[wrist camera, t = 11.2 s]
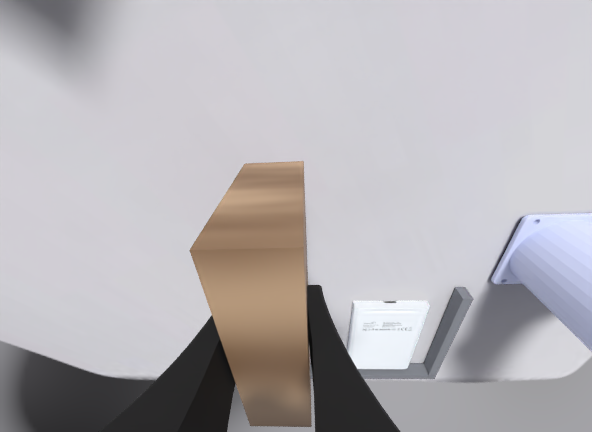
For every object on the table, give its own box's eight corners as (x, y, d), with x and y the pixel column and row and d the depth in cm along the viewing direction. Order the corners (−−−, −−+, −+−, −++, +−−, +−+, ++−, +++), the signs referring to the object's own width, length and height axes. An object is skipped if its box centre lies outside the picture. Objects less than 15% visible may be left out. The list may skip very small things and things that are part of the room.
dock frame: (465, 287, 26) (473, 298, 24) (429, 367, 34) (434, 379, 33) (294, 289, 27) (294, 301, 25) (300, 367, 35) (300, 378, 34)
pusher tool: (308, 307, 18) (311, 426, 12) (268, 307, 18) (250, 425, 12) (303, 161, 12) (303, 247, 6) (244, 163, 12) (189, 250, 6)
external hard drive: (344, 356, 34) (352, 297, 28) (404, 357, 34) (425, 296, 27) (346, 369, 33) (354, 309, 26) (408, 369, 33) (432, 309, 26)
